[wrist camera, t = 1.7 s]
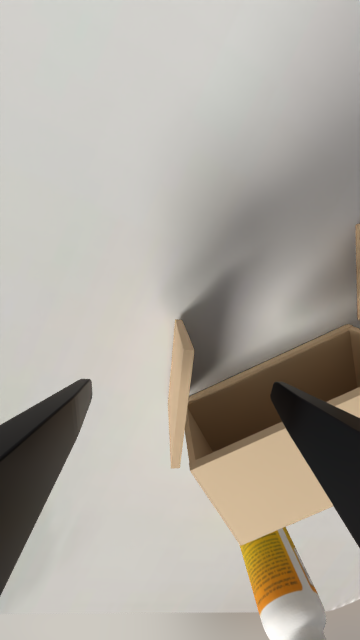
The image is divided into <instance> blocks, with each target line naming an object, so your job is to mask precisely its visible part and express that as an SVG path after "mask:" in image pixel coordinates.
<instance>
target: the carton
mask: <svg viewBox="0 0 360 640" xmlns="http://www.w3.org/2000/svg"><path fill="white" fill-rule="evenodd" d="M274 382H285V383H287V384H289V385H291V386H293V387H295V388H297V389H299V390H301V391H304V392H306V393H308V394H310V395H312V396H314V397H316V398H318V399H320V400H323V401H325V402H327V403H329V404H331V405H333V406H335V407H337V408H339V409H342V410H344V411H346V412H348V413H350V414H352V415H354V416H356V417H358V418H360V329H359V328H356V327H353V326H352V325H349V324H346V325H344V326H342V327H340V328H338V329H336V330H333V331H331V332H329V333H327V334H325V335H322V336H320V337H318V338H316V339H314V340H312V341H309V342H307V343H305V344H303V345H301V346H298V347H296V348H294V349H292V350H290V351H288V352H285V353H283V354H281V355H279V356H277V357H275V358H272V359H270V360H268V361H266V362H264V363H261V364H259V365H257V366H255V367H253V368H251V369H248V370H246V371H244V372H242V373H240V374H237V375H235V376H233V377H231V378H229V379H227V380H224V381H222V382H220V383H218V384H216V385H214V386H211V387H209V388H207V389H205V390H203V391H200V392H198V393H196V394H194V395H192V396H190V397H189V398H188V406H187V414H186V422H185V435H186V442H187V449H188V456H189V466H190V471H191V473H192V474H193V476H194V477H195V479H196V480H197V482H198V483H199V485H200V486H201V488H202V489H203V491H204V492H205V494H206V495H207V497H208V498H209V500H210V501H211V503H212V504H213V505H214V507H215V508H216V510H217V511H218V513H219V514H220V516H221V517H222V519H223V520H224V522H225V523H226V525H227V526H228V528H229V529H230V531H231V532H232V534H233V535H234V537H235V538H236V540H237V541H238V543H239V544H240V546H241V545H244V544H246V543H248V542H251V541H253V540H255V539H258V538H260V537H262V536H265V535H267V534H270V533H272V532H274V531H277V530H279V529H281V528H284V527H286V526H288V525H291V524H293V523H295V522H298V521H300V520H302V519H305V518H307V517H309V516H312V515H314V514H316V513H319V512H321V511H323V510H326V509H328V508H330V507H333V504H332V503H331V501H330V499H329V498H328V496H327V495H326V493H325V491H324V490H323V488H322V487H321V485H320V483H319V482H318V480H317V478H316V477H315V475H314V474H313V472H312V470H311V469H310V467H309V466H308V464H307V462H306V461H305V459H304V457H303V456H302V454H301V453H300V451H299V449H298V448H297V446H296V445H295V443H294V441H293V440H292V438H291V437H290V435H289V433H288V432H287V430H286V428H285V426H284V424H283V422H282V420H281V418H280V416H279V414H278V413H277V411H276V409H275V407H274V405H273V403H272V401H271V398H270V394H271V390H272V387H273V384H274Z"/></svg>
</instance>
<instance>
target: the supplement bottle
mask: <svg viewBox="0 0 360 640" xmlns="http://www.w3.org/2000/svg"><path fill="white" fill-rule="evenodd" d="M240 548H241V551H242V555H243V558H244V562H245V565H246V569H247V572H248V575H249V579H250V582H251V586H252V590H253V593H254V597H255V600H256V604H257V607H258V611H259V614H260V617H261V621H262V624H263V627H264V630H265V632H266V634H267V636H268V637H269V639H270V640H326V638H325V636H324V632H323V629H324V627H325V624H326V615H325V610H324V607H323V605H322V602H321V600H320V598H319V596H318V593H317V591H316V589H315V587H314V585H313V583H312V581H311V579H310V577H309V575H308V573H307V571H306V569H305V567H304V565H303V562H302V560H301V558H300V556H299V554H298V552H297V550H296V548H295V546H294V544H293V542H292V540H291V538H290V535H289V533H288V531H287V529H286V527H284V528H281V529H279V530H277V531H274V532H272V533H270V534H267V535H265V536H262V537H260V538H258V539H255V540H253V541H251V542H248V543H246V544H244V545H241V546H240Z"/></svg>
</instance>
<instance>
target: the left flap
mask: <svg viewBox="0 0 360 640" xmlns="http://www.w3.org/2000/svg"><path fill="white" fill-rule="evenodd" d="M194 351H195V350H194V348H193V346H192V343H191V341H190V338H189V336H188V333H187V331H186V328H185V326H184V324H183V321H182V320H176V319H175V328H174V340H173V351H172V363H171V374H170V386H169V397H168V414H169V435H170V456H171V468H180V462H181V454H182V446H183V438H184V430H185V422H186V414H187V406H188V398H189V390H190V382H191V375H192V367H193V359H194Z"/></svg>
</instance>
